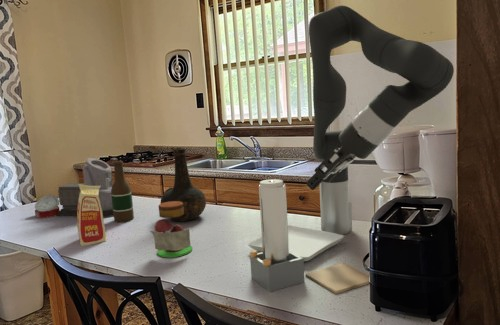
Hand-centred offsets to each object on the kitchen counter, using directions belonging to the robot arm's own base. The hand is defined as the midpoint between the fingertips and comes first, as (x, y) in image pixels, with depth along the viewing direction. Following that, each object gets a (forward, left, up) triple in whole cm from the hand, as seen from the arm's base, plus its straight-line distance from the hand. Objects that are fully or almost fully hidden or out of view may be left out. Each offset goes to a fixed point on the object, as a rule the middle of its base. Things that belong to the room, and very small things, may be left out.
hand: (317, 183), depth 95 cm
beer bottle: (+28, -95, -25) cm, 102 cm away
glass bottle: (+7, -81, -25) cm, 85 cm away
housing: (+6, -10, -25) cm, 28 cm away
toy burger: (+22, -46, -25) cm, 57 cm away
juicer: (+38, -116, -25) cm, 125 cm away
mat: (-7, -2, -25) cm, 26 cm away
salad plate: (-10, -26, -26) cm, 38 cm away
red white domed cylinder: (+55, -127, -25) cm, 141 cm away
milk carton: (+42, -75, -25) cm, 90 cm away
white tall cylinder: (+6, -10, -25) cm, 28 cm away
